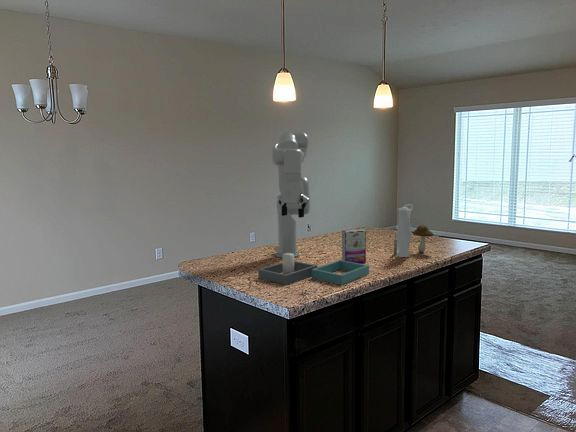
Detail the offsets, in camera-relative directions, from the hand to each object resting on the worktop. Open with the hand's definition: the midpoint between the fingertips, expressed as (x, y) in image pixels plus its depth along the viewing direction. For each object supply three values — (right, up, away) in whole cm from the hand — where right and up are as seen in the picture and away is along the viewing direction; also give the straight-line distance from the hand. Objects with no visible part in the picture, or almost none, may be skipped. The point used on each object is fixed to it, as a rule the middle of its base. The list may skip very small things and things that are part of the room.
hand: (292, 216), depth 203 cm
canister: (-2, -27, +2) cm, 27 cm away
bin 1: (-2, -27, +2) cm, 27 cm away
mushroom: (+72, -20, +48) cm, 89 cm away
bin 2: (+21, -27, +2) cm, 34 cm away
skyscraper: (+59, -22, +40) cm, 74 cm away
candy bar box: (+31, -23, +27) cm, 47 cm away
